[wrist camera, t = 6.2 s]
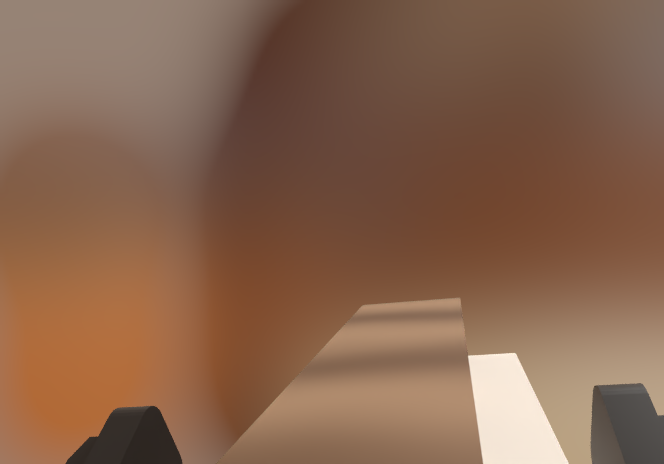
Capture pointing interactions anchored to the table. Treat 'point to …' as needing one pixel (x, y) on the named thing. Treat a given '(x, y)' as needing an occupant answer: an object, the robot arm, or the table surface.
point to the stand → (510, 414)
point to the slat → (376, 395)
